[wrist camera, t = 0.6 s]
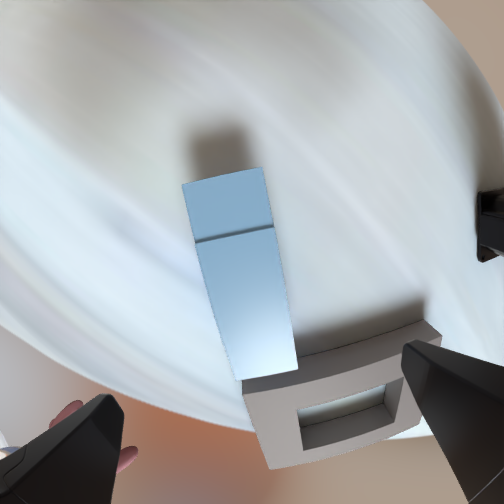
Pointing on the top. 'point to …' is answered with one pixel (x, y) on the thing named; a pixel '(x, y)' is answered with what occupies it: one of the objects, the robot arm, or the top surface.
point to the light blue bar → (242, 271)
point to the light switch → (333, 388)
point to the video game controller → (125, 454)
